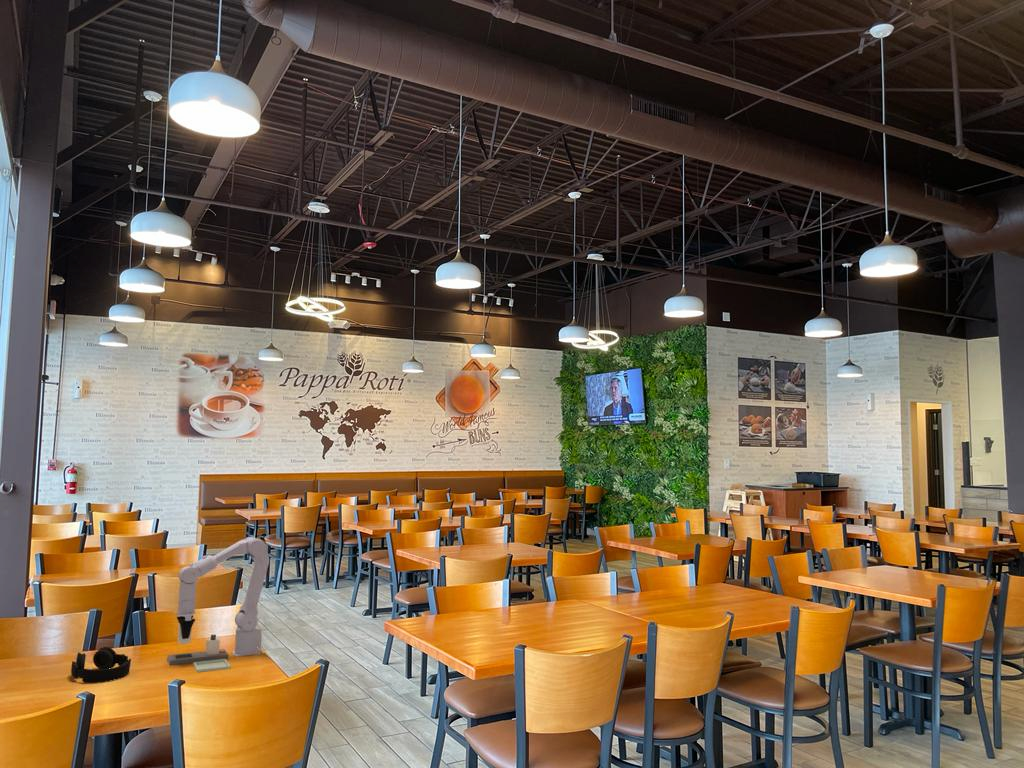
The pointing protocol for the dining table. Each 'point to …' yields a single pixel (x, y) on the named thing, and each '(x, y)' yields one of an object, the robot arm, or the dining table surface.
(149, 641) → the dining table surface
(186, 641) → the plug
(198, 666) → the tray
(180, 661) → the power strip
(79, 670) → the headphones
